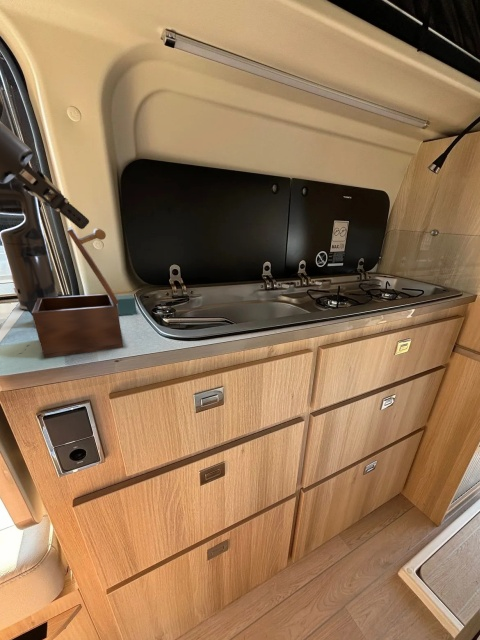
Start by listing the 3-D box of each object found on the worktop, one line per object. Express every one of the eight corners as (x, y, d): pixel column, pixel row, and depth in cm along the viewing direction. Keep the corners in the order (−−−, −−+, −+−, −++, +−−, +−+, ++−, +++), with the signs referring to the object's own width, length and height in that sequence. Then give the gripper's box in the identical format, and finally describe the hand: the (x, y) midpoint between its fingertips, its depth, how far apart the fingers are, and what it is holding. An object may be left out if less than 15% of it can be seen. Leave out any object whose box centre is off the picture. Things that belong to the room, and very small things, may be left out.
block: (117, 311, 84) (115, 295, 82) (134, 309, 86) (132, 294, 84) (119, 315, 80) (116, 299, 78) (136, 313, 82) (134, 298, 80)
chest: (44, 358, 54) (31, 313, 51) (48, 337, 63) (37, 298, 60) (123, 347, 61) (117, 306, 57) (116, 329, 70) (111, 293, 66)
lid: (67, 231, 49) (98, 219, 51) (67, 228, 58) (94, 218, 60) (114, 304, 57) (140, 292, 59) (109, 292, 66) (131, 282, 68)
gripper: (-8, 110, 39) (102, 210, 49) (9, 132, 50) (96, 210, 60) (-47, 149, 39) (71, 242, 49) (-22, 163, 50) (71, 237, 60)
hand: (85, 225), depth 55 cm, fingers open, 8 cm apart
